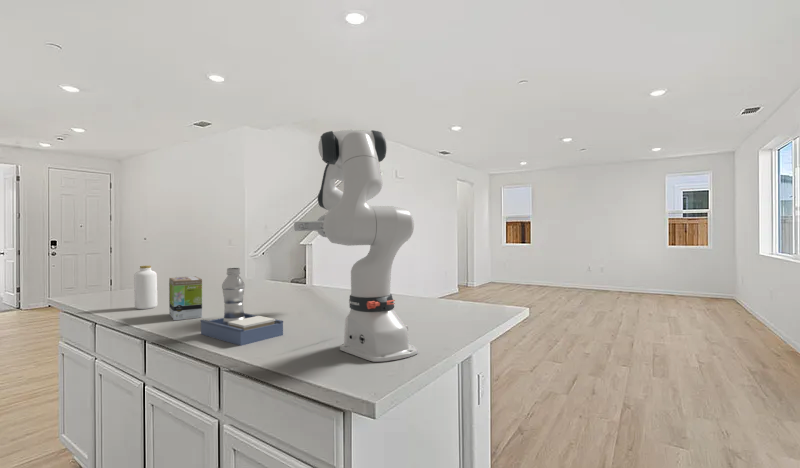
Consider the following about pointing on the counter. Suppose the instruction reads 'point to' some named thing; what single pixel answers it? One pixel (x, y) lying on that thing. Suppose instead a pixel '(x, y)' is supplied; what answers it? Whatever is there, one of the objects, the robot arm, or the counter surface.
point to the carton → (252, 322)
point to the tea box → (185, 297)
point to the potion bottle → (145, 288)
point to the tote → (240, 331)
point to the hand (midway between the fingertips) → (310, 225)
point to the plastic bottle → (233, 296)
